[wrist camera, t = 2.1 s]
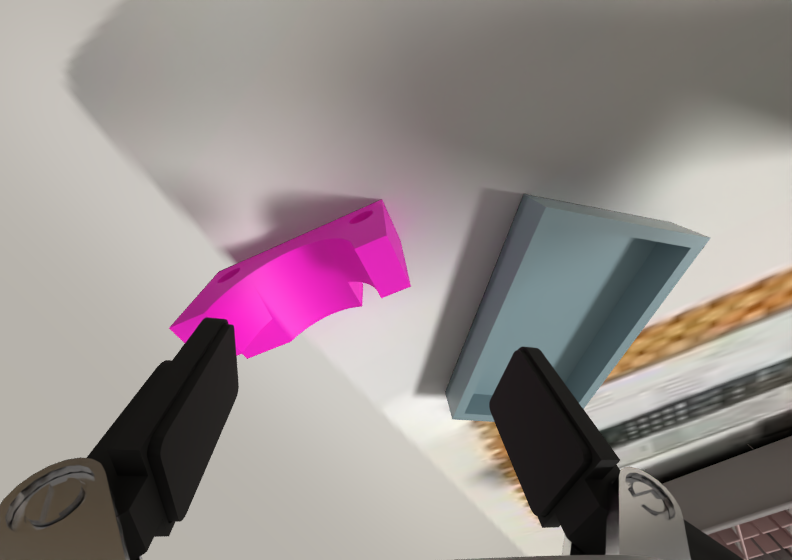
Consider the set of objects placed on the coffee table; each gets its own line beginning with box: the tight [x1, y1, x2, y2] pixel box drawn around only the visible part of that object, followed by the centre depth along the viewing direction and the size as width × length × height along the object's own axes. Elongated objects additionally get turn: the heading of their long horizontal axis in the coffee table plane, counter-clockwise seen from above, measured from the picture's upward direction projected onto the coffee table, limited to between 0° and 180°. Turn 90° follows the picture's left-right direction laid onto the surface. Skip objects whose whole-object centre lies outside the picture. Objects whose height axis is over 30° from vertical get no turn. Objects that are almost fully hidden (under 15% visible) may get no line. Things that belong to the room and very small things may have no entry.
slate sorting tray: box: [445, 194, 710, 422], centre depth 29 cm, size 14×23×4 cm, turn 169°
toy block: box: [169, 200, 411, 359], centre depth 23 cm, size 15×6×8 cm, turn 113°
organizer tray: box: [662, 436, 792, 560], centre depth 49 cm, size 32×40×10 cm
